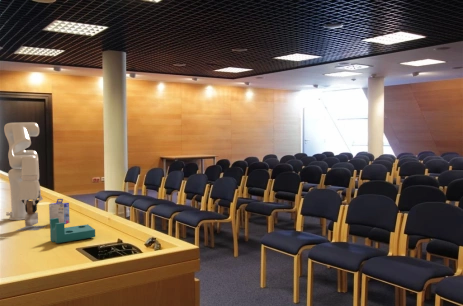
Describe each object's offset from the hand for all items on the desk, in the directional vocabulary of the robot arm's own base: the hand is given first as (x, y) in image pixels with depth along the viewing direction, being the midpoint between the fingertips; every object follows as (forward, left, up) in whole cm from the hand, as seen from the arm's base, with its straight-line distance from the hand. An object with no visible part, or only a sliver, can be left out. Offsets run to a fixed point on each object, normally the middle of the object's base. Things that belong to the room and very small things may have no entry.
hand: (31, 211), depth 237 cm
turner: (0, 0, -7) cm, 7 cm away
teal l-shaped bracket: (+34, -26, -10) cm, 44 cm away
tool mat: (0, 0, -10) cm, 10 cm away
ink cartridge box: (+10, +12, -10) cm, 18 cm away
